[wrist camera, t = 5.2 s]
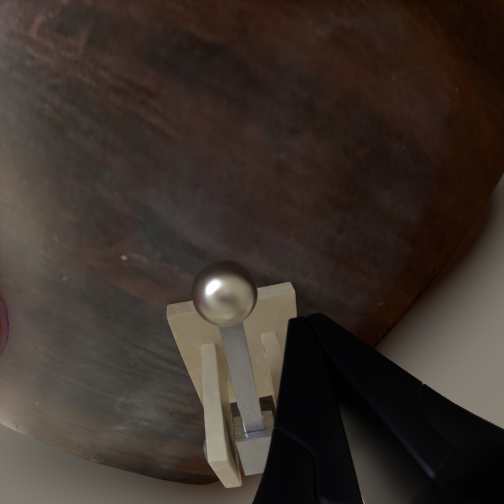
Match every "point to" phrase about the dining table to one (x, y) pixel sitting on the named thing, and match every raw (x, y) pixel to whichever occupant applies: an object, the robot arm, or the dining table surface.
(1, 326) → the decorative fish
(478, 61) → the dining table surface
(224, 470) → the bracket
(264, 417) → the lever
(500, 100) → the dining table surface
